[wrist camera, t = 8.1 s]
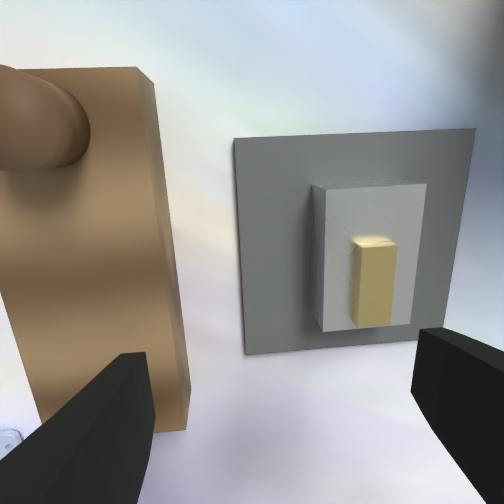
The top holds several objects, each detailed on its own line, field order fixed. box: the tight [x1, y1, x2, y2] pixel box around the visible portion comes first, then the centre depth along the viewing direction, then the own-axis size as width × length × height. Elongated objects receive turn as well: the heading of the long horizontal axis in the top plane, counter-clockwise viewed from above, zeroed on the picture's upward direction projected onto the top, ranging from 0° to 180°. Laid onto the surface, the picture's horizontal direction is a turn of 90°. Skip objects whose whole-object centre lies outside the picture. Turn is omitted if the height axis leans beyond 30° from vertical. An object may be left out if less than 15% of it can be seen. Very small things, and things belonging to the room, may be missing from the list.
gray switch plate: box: [234, 128, 476, 355], centre depth 17 cm, size 12×12×1 cm
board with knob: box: [0, 65, 191, 433], centre depth 14 cm, size 17×7×6 cm, turn 2°
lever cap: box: [310, 179, 427, 332], centre depth 16 cm, size 7×4×3 cm, turn 3°
